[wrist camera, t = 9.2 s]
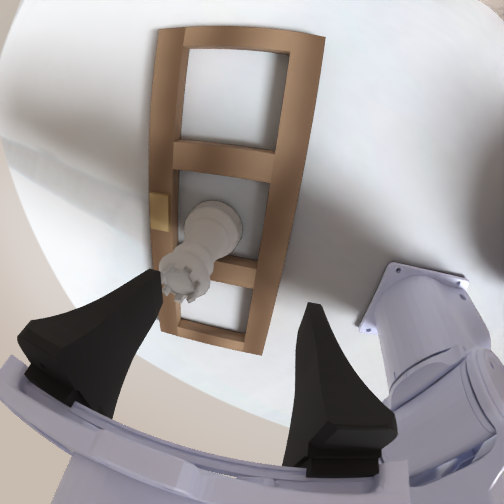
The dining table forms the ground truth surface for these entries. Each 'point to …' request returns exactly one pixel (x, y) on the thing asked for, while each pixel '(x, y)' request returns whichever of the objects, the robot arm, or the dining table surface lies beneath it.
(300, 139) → the brown wooden flat frame
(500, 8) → the decorative plaque
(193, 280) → the rook chess piece
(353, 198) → the dining table surface
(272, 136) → the dining table surface
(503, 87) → the dining table surface
